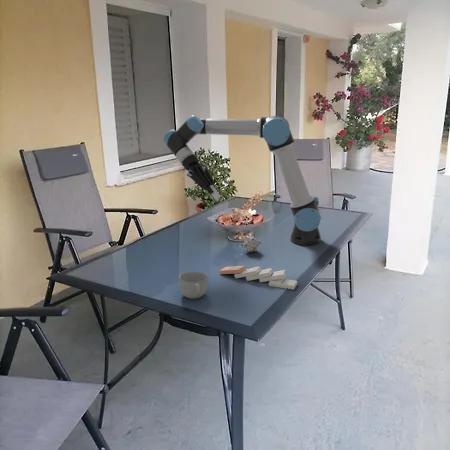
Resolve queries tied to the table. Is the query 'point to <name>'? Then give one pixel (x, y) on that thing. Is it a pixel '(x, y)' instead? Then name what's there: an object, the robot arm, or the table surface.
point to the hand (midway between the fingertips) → (218, 198)
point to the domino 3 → (260, 274)
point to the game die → (251, 244)
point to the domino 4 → (274, 276)
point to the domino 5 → (283, 283)
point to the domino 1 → (232, 270)
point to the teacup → (193, 284)
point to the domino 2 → (248, 272)
